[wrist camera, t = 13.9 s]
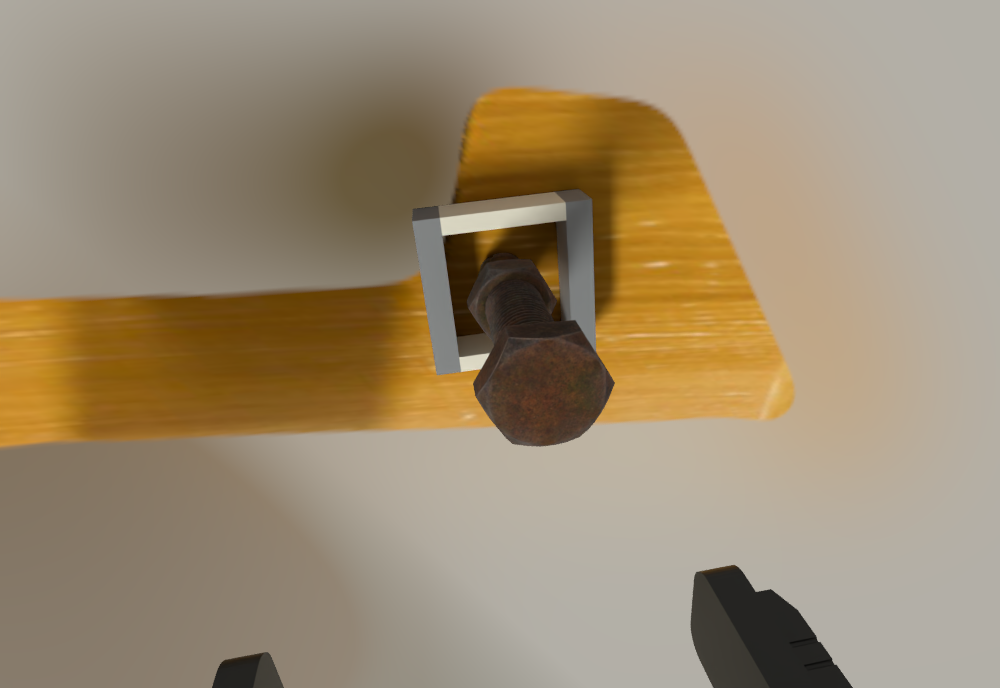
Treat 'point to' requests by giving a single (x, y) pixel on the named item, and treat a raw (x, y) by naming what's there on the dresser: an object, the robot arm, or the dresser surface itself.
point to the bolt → (533, 358)
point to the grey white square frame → (495, 214)
